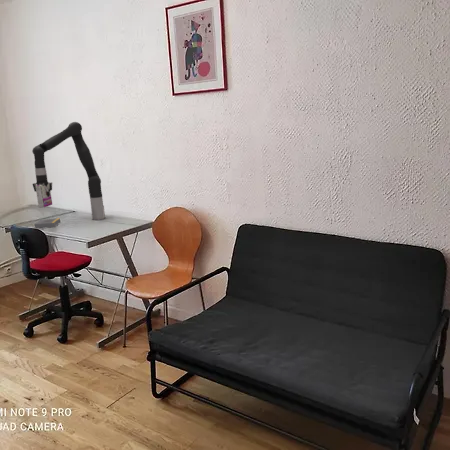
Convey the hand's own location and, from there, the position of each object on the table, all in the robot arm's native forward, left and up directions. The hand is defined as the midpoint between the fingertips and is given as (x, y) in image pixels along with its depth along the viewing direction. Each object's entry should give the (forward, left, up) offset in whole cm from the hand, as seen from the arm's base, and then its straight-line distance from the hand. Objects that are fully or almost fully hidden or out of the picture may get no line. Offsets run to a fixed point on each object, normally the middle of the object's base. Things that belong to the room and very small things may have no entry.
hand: (44, 196), depth 342 cm
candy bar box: (0, 0, -7) cm, 7 cm away
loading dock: (0, 0, -22) cm, 22 cm away
